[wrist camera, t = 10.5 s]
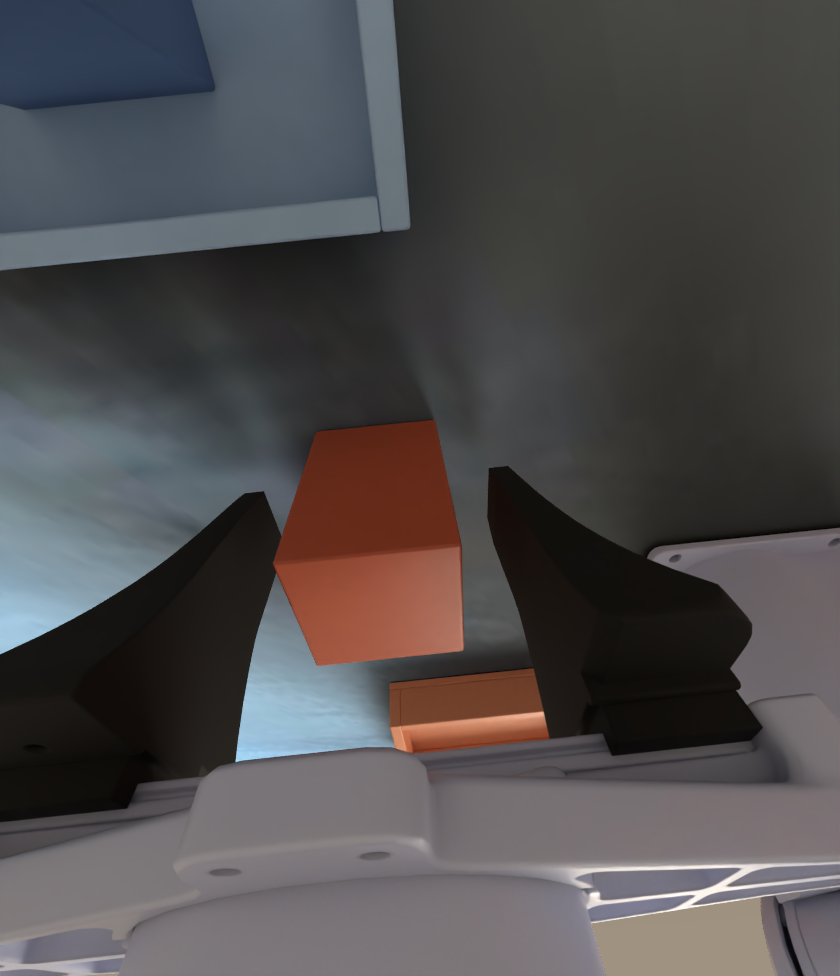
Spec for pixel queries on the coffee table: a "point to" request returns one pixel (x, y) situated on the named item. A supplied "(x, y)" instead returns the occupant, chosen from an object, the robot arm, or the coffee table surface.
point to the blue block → (99, 51)
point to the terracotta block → (374, 546)
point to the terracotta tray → (466, 711)
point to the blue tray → (220, 145)
